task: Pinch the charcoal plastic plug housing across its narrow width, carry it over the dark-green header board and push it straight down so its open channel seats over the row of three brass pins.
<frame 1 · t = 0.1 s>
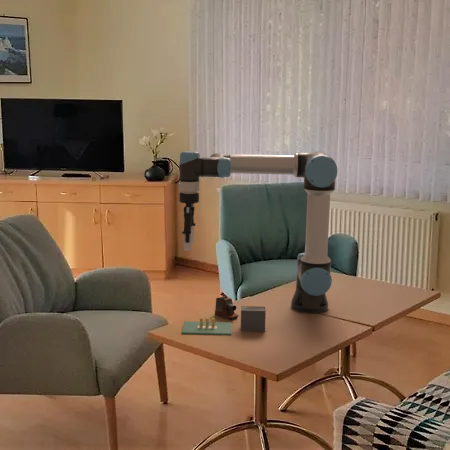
hand: (188, 246, 263), 28 cm above the table, fingers open, 13 cm apart
plug housing: (252, 328, 255), on the table
electronic device: (226, 317, 268), on the table
header board: (207, 328, 254), on the table
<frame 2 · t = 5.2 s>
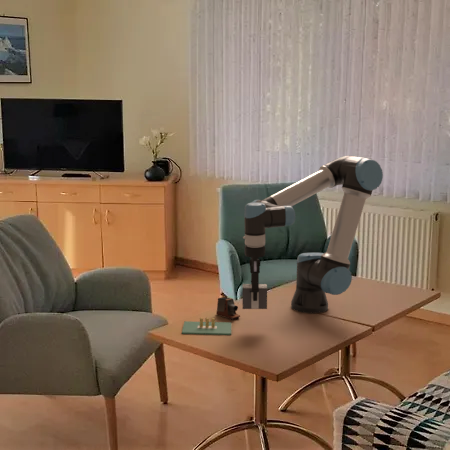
hand: (254, 305, 253), 9 cm above the table, fingers closed on plug housing, 5 cm apart
plug housing: (254, 306, 253), point 9 cm above the table, touching gripper
everything else where it was.
when the fingers open (2 cm above the table, at t = 9.3 s): plug housing stays where it is, resting on header board.
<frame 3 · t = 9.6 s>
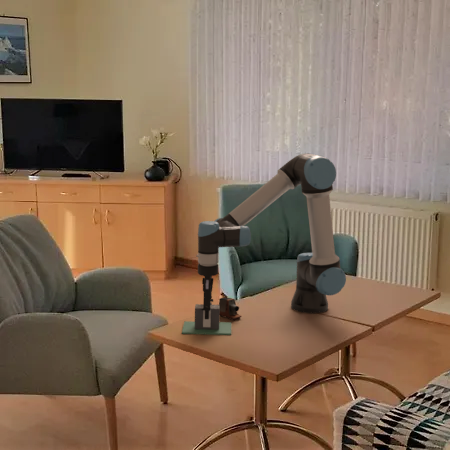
hand: (207, 322, 253), 2 cm above the table, fingers open, 8 cm apart
plug housing: (207, 327, 254), point 1 cm above the table, touching header board
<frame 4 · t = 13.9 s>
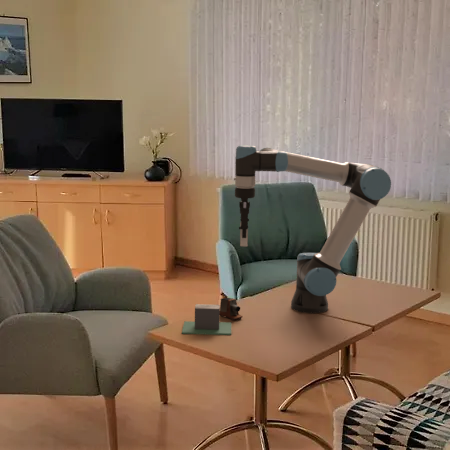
hand: (243, 242, 259), 31 cm above the table, fingers open, 13 cm apart
at the end: plug housing 0.1 cm off-centre on the header board, point 0.7 cm above the header board's base; plug housing tilted 1°; the gripper is holding nothing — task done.
